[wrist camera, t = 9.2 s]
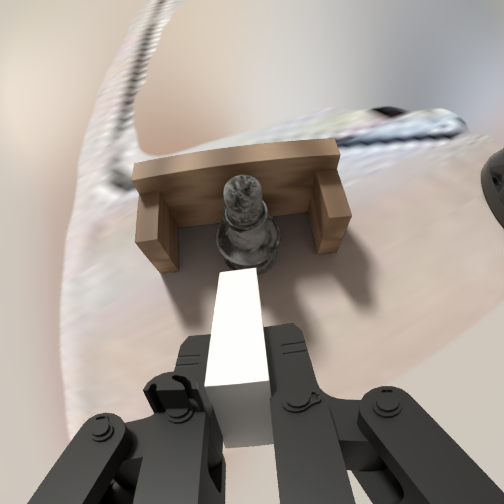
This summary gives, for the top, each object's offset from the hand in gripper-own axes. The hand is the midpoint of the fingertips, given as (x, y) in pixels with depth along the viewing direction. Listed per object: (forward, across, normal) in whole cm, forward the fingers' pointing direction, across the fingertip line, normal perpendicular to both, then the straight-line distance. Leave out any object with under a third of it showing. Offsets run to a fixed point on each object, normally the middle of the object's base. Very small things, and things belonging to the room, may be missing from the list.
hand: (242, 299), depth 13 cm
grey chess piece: (+18, 0, -5) cm, 19 cm away
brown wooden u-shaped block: (+19, 0, -3) cm, 20 cm away
